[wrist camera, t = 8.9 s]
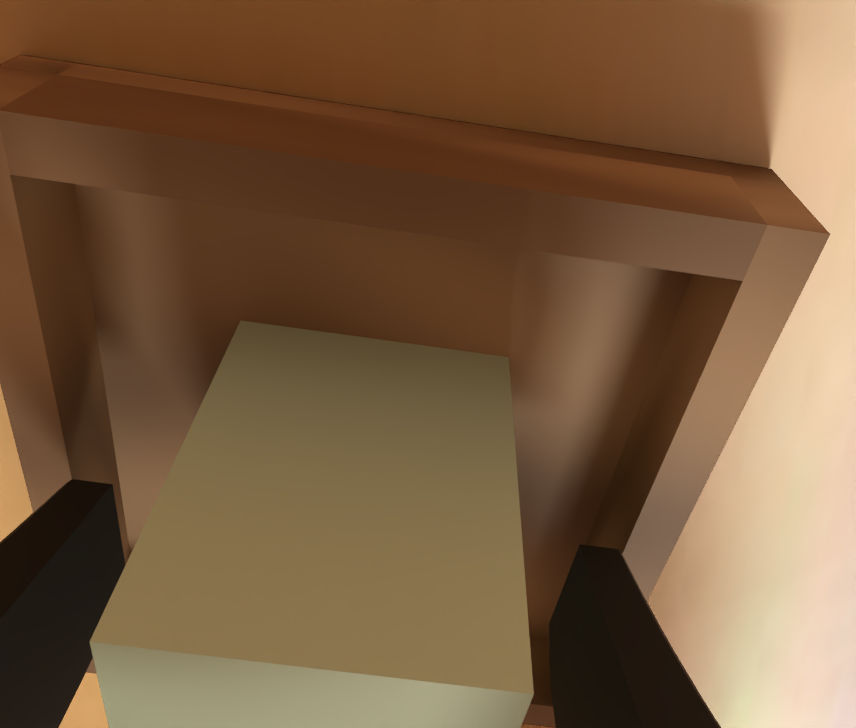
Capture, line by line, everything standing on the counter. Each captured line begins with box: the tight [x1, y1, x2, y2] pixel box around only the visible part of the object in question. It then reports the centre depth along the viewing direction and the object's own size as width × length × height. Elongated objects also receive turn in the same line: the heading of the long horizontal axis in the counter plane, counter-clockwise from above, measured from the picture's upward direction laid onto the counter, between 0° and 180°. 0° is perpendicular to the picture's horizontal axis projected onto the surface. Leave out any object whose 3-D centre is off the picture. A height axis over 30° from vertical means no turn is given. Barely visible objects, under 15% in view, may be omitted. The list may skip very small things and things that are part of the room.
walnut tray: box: [0, 55, 830, 728], centre depth 13 cm, size 12×11×2 cm
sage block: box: [90, 321, 534, 728], centre depth 11 cm, size 4×4×6 cm
